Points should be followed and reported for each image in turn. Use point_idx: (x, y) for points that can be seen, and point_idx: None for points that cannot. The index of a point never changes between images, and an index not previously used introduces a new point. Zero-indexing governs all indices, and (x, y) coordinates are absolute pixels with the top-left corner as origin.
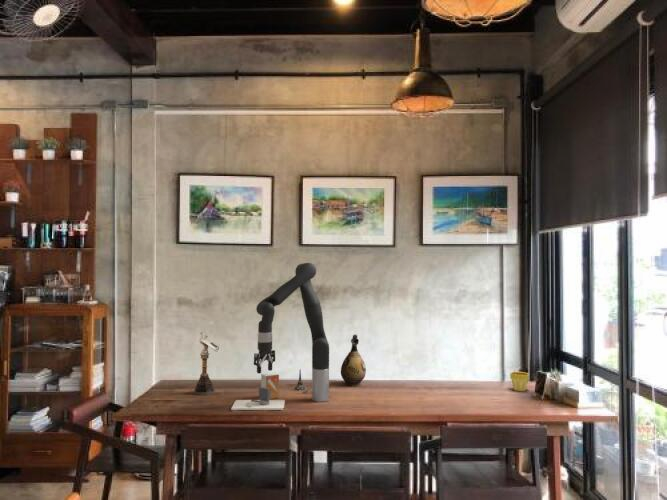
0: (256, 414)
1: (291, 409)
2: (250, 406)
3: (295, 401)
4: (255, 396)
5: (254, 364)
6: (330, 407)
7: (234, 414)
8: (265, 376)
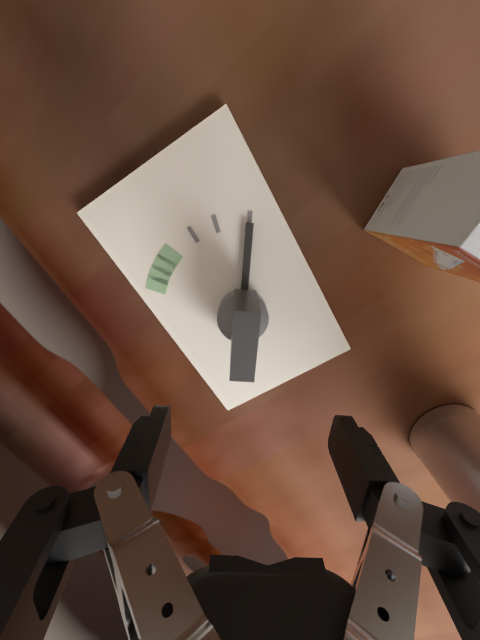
0: (129, 345)
1: (266, 414)
2: (164, 282)
3: (384, 367)
4: (411, 118)
5: (35, 507)
6: None
7: (62, 263)
8: (464, 232)
